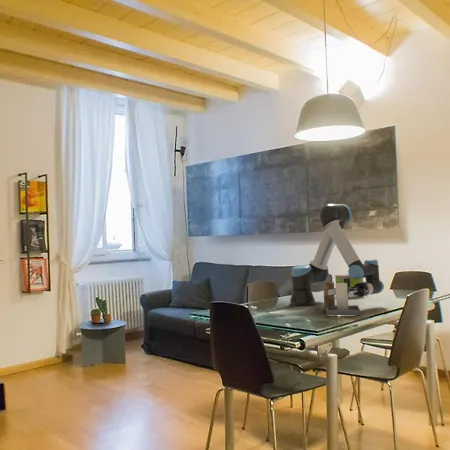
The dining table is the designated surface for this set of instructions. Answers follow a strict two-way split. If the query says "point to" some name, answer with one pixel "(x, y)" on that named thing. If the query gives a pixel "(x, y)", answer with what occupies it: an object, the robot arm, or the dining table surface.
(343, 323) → the dining table surface
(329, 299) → the walnut pillar
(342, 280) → the tea box
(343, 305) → the cream pillar
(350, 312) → the tray
